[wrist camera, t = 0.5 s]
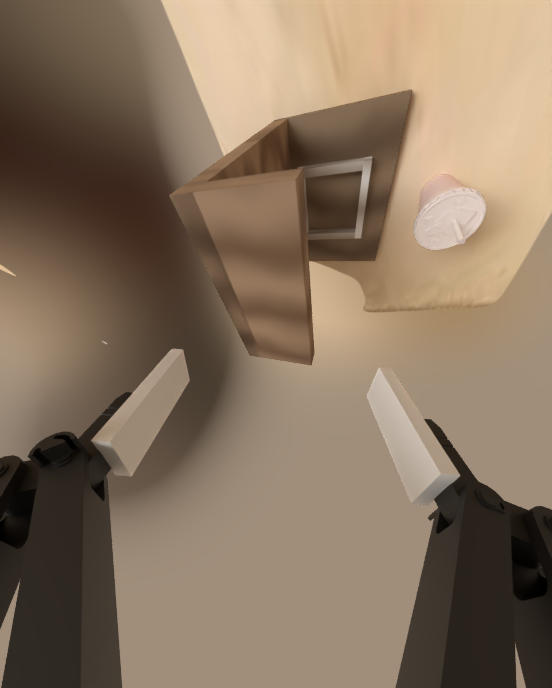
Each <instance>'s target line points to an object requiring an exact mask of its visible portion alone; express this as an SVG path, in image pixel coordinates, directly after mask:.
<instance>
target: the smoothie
mask: <svg viewBox="0 0 552 688" xmlns="http://www.w3.org/2000/svg"><path fill="white" fill-rule="evenodd" d="M485 214H486V203H485V201H484V198H483V196H482V195H481V194H480V193H479V192H478V191H476V190H474V189H472V188H466V187H464V186H463V185H462V184H460V183H459V182H458V181H456V180H455V179H454V178H452V177H451V176H449V175H446V174H442V175H438V176H436V177H434V178H432V179H431V180H430V181H428V182H427V183H426V185H425V186H424V187H423V189H422V192H421V196H420V204H419V212H418V216H417V218H416V220H415V223H414V228H413V230H414V236H415V239H416V241H417V242H418V244H419V245H420V246H422V247H423V248H426V249H430V250H442V249H447V248H450V247H453V246H455V245H457V244H463V243H465V240H466V239H467V238H469V237H470V236H471V235H472V234H473V233H474V232H475V231H476V230H477V229H478V228H479V226H480V225H481V223H482V222H483V220H484V217H485Z"/></svg>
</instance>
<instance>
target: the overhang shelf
mask: <svg viewBox="0 0 552 688" xmlns="http://www.w3.org/2000/svg"><path fill="white" fill-rule="evenodd" d="M411 92H412V90H407V91H403V92H399V93H394V94H390V95H385V96H381V97H377V98H372V99H368V100H363V101H359V102H354V103H350V104H346V105H341V106H337V107H332V108H328V109H323V110H319V111H315V112H310V113H306V114H301V115H297V116H293V117H288V118H284V119H279V120H275V121H273V122H272V123H271V124H269V125H268V126H266V127H265V128H264V129H262V130H261V131H259V132H258V133H257V134H255V135H254V136H252V137H251V138H249V139H248V140H247V141H245V142H244V143H242V144H241V145H240V146H238V147H237V148H235V149H234V150H233V151H231V152H230V153H228V154H227V155H226V156H224V157H223V158H221V159H220V160H219V161H217V162H216V163H214V164H213V165H212V166H210V167H209V168H207V169H206V170H205V171H203V172H202V173H200V174H199V175H197V176H196V177H195V178H193V179H192V180H190V181H189V182H188V183H186V184H185V185H183V186H182V187H181V188H179V189H178V190H176V191H175V192H174V193H172V194H171V195H170V198H171V200H172V202H173V204H174V206H175V208H176V210H177V212H178V214H179V216H180V218H181V220H182V222H183V224H184V226H185V227H186V230H187V231H188V234H189V236H190V238H191V240H192V242H193V243H194V246H195V248H196V250H197V252H198V253H199V255H200V257H201V259H202V261H203V263H204V265H205V267H206V269H207V271H208V273H209V275H210V277H211V279H212V281H213V283H214V285H215V287H216V289H217V291H218V293H219V295H220V297H221V299H222V301H223V303H224V305H225V307H226V309H227V311H228V313H229V315H230V317H231V319H232V321H233V323H234V325H235V327H236V329H237V331H238V333H239V335H240V337H241V339H242V341H243V343H244V345H245V347H246V349H247V351H248V353H249V355H251V356H257V357H263V358H269V359H275V360H281V361H288V362H294V363H300V364H306V365H312V360H313V356H314V340H313V323H312V306H311V290H310V273H309V261H375V259H376V254H377V249H378V245H379V240H380V235H381V231H382V226H383V222H384V217H385V212H386V208H387V203H388V198H389V194H390V189H391V184H392V180H393V175H394V171H395V166H396V161H397V157H398V152H399V147H400V143H401V138H402V134H403V129H404V124H405V120H406V115H407V110H408V106H409V101H410V97H411Z"/></svg>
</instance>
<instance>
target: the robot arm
mask: <svg viewBox="0 0 552 688" xmlns="http://www.w3.org/2000/svg"><path fill="white" fill-rule="evenodd" d="M189 381H190V380H189V376H188V371H187V366H186V362H185V357H184V352H183V350H179V349H171V350H170V351H169V353H168V354H167V355H166V356H165V357H164V358H163V359H162V360H161V362H160V363H159V364H158V365H157V366H156V367H155V368H154V370H153V371H152V372H151V373H150V374H149V375H148V376H147V377H146V379H145V380H144V381H143V382H142V383H141V384H140V385H139V387H138V388H137V389H136V390H135V391H134V392H133V393H129V392H126V393H124V394H123V395H121V396H120V397H118V398H117V399H115V400H114V402H113V403H112V404H111V405H110V406H109V407H108V409H106V410H105V411H104V412H103V413H102V415H100V417H98V418H97V420H96V421H95V422H94V423H93V424H92V425H91V426H90V427H89V428H88V429H87V430H86V431H85V432H84V433H83V434H82V436H81V437H80V438H79V439H77V437H76V436H75V435H74V434H73V433H71V432H60V433H56V434H54V435H51V436H49V437H47V438H45V439H44V440H42V441H41V442H39V443H38V444H37V445H36V446H35V447H34V448H33V449H32V450H31V451H30V453H29V455H28V457H29V458H30V459H31V460H29V461H25V462H24V461H23V460H21V459H20V458H19V457H17V456H5V457H3V458H0V628H1V626H2V623H3V621H4V618H5V616H6V613H7V611H8V608H9V606H10V603H11V601H12V598H13V596H14V593H15V591H16V588H17V586H18V583H19V581H20V586H19V591H18V597H17V602H16V608H15V613H14V619H13V625H12V630H11V636H10V642H9V647H8V653H7V658H6V665H5V670H4V675H3V681H2V687H1V688H122V679H121V666H120V651H119V638H118V623H117V608H116V595H115V580H114V565H113V552H112V538H111V523H110V509H109V494H108V481H107V477H106V475H107V473H108V472H109V471H110V469H112V471H113V472H114V473H115V475H122V476H132V475H133V473H134V471H135V470H136V468H137V466H138V465H139V463H140V461H141V460H142V458H143V456H144V454H145V453H146V451H147V450H148V448H149V446H150V445H151V443H152V441H153V440H154V438H155V436H156V435H157V433H158V432H159V430H160V428H161V427H162V425H163V423H164V422H165V420H166V418H167V417H168V415H169V413H170V412H171V410H172V408H173V407H174V405H175V404H176V402H177V400H178V399H179V397H180V395H181V394H182V392H183V390H184V389H185V387H186V386H187V384H188V382H189ZM367 399H368V401H369V404H370V406H371V408H372V410H373V413H374V415H375V417H376V420H377V423H378V425H379V427H380V430H381V432H382V435H383V437H384V440H385V442H386V444H387V447H388V449H389V452H390V454H391V456H392V459H393V461H394V464H395V466H396V468H397V471H398V473H399V475H400V478H401V480H402V483H403V485H404V488H405V490H406V492H407V494H408V497H409V499H410V502H411V504H419V505H429V504H430V503H431V502H432V501H433V500H435V502H436V503H437V506H438V509H437V510H435V511H434V512H433V513H432V514H431V515H430V516H429V517H428V519H429V520H432V519H433V518H434V522H433V526H432V531H431V535H430V539H429V543H428V548H427V552H426V556H425V561H424V566H423V570H422V574H421V578H420V583H419V587H418V592H417V596H416V601H415V605H414V609H413V614H412V618H411V622H410V627H409V632H408V636H407V640H406V644H405V649H404V653H403V658H402V662H401V667H400V671H399V675H398V680H397V684H396V688H516V663H515V644H516V648H517V652H518V656H519V660H520V664H521V669H522V673H523V677H524V681H525V685H526V688H552V510H551V509H548V508H545V507H542V506H536V507H534V508H532V509H530V510H526V509H524V508H521V507H518V506H516V505H513V504H511V503H509V502H506V501H504V500H503V499H502V498H501V497H500V496H499V495H498V494H497V493H496V492H495V491H494V490H492V489H491V488H489V487H488V486H486V485H484V484H482V483H480V482H478V480H477V479H476V478H475V477H474V475H473V474H472V472H471V471H470V469H469V468H468V467H467V465H466V464H465V462H464V461H463V459H462V458H461V457H460V455H459V454H458V452H457V451H456V450H455V448H453V445H452V444H451V442H450V441H449V440H447V437H446V435H445V434H444V433H443V431H442V430H441V428H440V427H439V426H437V425H436V424H435V423H434V422H433V421H432V420H431V419H423V417H422V416H421V414H420V412H419V411H418V409H417V408H416V406H415V405H414V403H413V402H412V400H411V399H410V397H409V396H408V394H407V392H406V391H405V389H404V388H403V386H402V385H401V384H400V382H399V380H398V379H397V377H396V376H395V374H394V373H393V371H392V369H391V368H385V367H379V368H378V370H377V373H376V375H375V377H374V380H373V382H372V385H371V387H370V389H369V392H368V394H367ZM20 578H21V579H20Z"/></svg>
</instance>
